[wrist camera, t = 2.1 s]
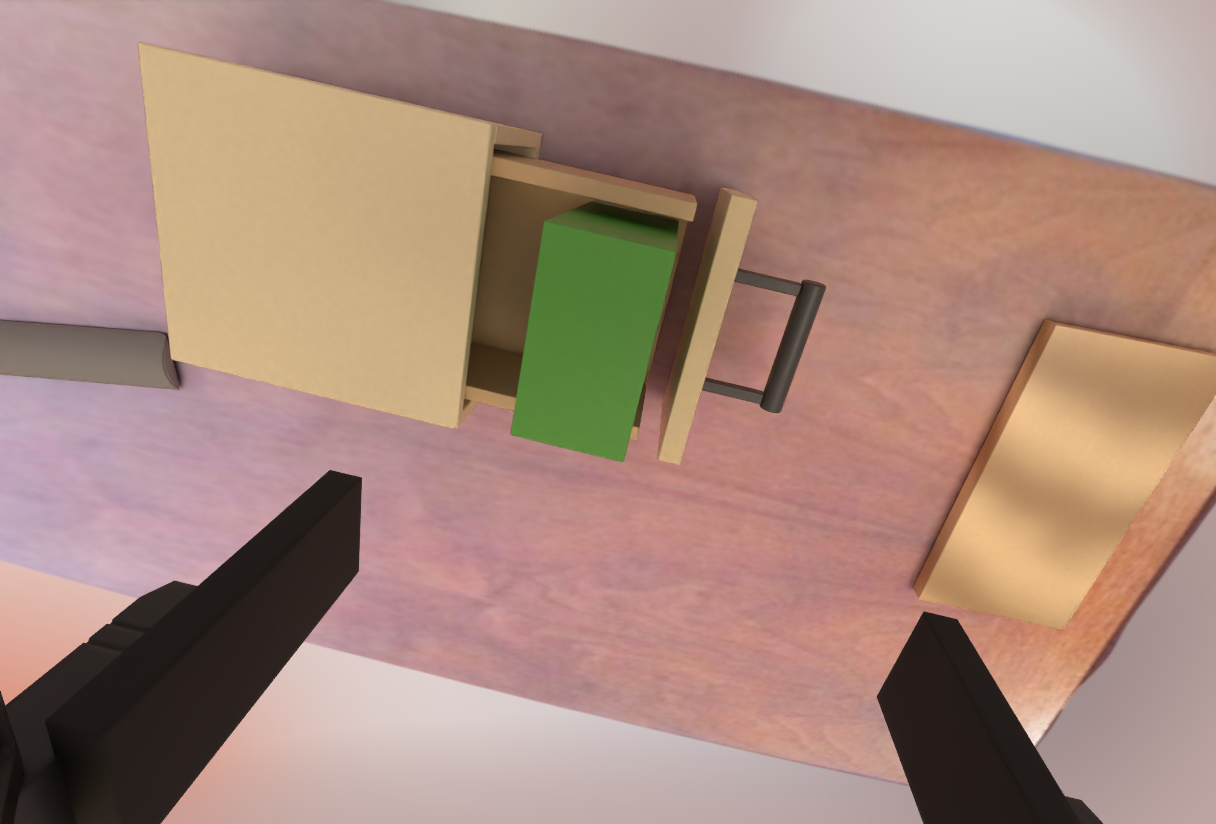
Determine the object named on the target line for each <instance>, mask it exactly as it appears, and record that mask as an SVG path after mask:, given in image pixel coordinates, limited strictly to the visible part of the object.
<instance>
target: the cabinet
mask: <svg viewBox="0 0 1216 824" xmlns="http://www.w3.org/2000/svg"><path fill="white" fill-rule="evenodd" d="M138 50H139V60H140V69H141V79H142V88H143V98H144V107H145V117H146V126H147V136H148V145H149V155H150V164H151V174H152V183H153V193H154V202H155V212H156V221H157V231H158V240H159V250H160V259H161V269H162V278H163V288H164V297H165V307H166V317H167V326H168V336H169V345H170V355H171V359H172V360H176V361H180V362H184V363H188V364H192V365H196V366H200V367H204V368H208V369H212V370H216V371H220V372H224V373H229V374H233V375H237V376H241V377H245V378H249V379H253V380H257V381H261V382H265V383H269V384H273V385H278V386H282V387H286V388H290V389H294V390H298V391H302V392H306V393H310V394H314V395H318V396H322V397H326V398H331V399H335V400H339V401H343V402H347V403H351V404H355V405H359V406H363V407H367V408H371V409H375V410H379V411H384V412H388V413H392V414H396V415H400V416H404V417H408V418H412V419H416V420H420V421H424V422H428V423H433V424H437V425H441V426H445V427H449V428H453V429H457V428H458V427H459V425H460V424H461V423H462V422H463V421H464V420H465V419H466V417H467V416H468V415H469V414H470V413H471V411H472V410H473V409H474V408H475V407H476V406H477V404H478V403H479V402H476V401H471V400H467V399H464V396H465V388H466V379H467V371H468V362H469V354H470V345H471V337H472V328H473V320H474V311H475V303H476V294H477V286H478V277H479V269H480V260H481V252H482V243H483V235H484V226H485V218H486V209H487V201H488V192H489V184H490V175H491V167H492V158H493V150H494V149H498V150H502V151H506V152H511V153H515V154H519V155H524V156H528V157H532V158H537V159H538V158H539V151H540V144H541V137H542V134H541V133H538V132H534V131H529V130H525V129H521V128H516V127H512V126H508V125H503V124H499V123H495V122H490V121H486V120H482V119H477V118H473V117H469V116H464V115H460V114H456V113H451V112H447V111H443V110H438V109H434V108H430V107H425V106H421V105H417V104H412V103H408V102H404V101H399V100H395V99H391V98H386V97H382V96H378V95H373V94H369V93H365V92H360V91H356V90H352V89H347V88H343V87H339V86H334V85H330V84H326V83H321V82H317V81H313V80H308V79H304V78H300V77H295V76H291V75H287V74H282V73H278V72H273V71H269V70H264V69H260V68H255V67H251V66H246V65H242V64H237V63H233V62H228V61H224V60H219V59H215V58H210V57H205V56H201V55H196V54H192V53H187V52H183V51H178V50H174V49H169V48H165V47H160V46H156V45H151V44H147V43H142V42H139V43H138Z"/></svg>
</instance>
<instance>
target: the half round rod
mask: <svg viewBox="0 0 1216 824" xmlns="http://www.w3.org/2000/svg"><path fill="white" fill-rule="evenodd" d="M0 374H2V375H13V376H25V377H36V378H48V379H60V380H71V381H83V382H95V383H106V384H118V385H130V386H141V387H153V388H164V389H176V390H180V389H179V387H180V385H179V382H178V378H177V374H176V370H175V367H174V363H173V360H172V359H171V355H170V348H169V344H168V340H167V338H166V337H165V335H164V334H162V333H159V332H147V331H134V330H121V329H108V328H95V327H82V326H69V325H56V324H43V323H29V322H16V321H3V320H0Z"/></svg>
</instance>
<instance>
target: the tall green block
mask: <svg viewBox="0 0 1216 824" xmlns="http://www.w3.org/2000/svg"><path fill="white" fill-rule="evenodd" d="M678 228H679V221H675V220H671V219H666V218H662V217H658V216H653V215H649V214H645V213H641V212H636V211H632V210H628V209H623V208H619V207H615V206H611V205H606V204H602V203H598V202H593V201H591V202H588V203H586V204H584V205H581V206H579V207H577V208H574V209H572V210H569V211H567V212H565V213H562V214H560V215H557V216H555V217H553V218H550V219H548V220H546V221H544V224H543V231H542V237H541V243H540V250H539V256H538V262H537V269H536V275H535V281H534V288H533V294H532V301H531V307H530V313H529V320H528V326H527V332H526V339H525V345H524V351H523V358H522V364H521V370H520V377H519V383H518V389H517V396H516V402H515V409H514V415H513V421H512V428H511V435H513V436H517V437H521V438H525V439H529V440H533V441H537V442H542V443H546V444H550V445H554V446H558V447H562V448H566V449H570V450H574V451H578V452H582V453H586V454H591V455H595V456H599V457H603V458H607V459H611V460H615V461H619V462H624V459H625V455H626V451H627V447H628V443H629V439H630V435H631V431H632V427H633V423H634V419H635V415H636V411H637V407H638V403H639V399H640V395H641V391H642V387H643V383H644V379H645V375H646V371H647V367H648V364H649V360H650V356H651V352H652V348H653V344H654V340H655V336H656V332H657V328H658V324H659V320H660V316H661V312H662V308H663V304H664V300H665V296H666V292H667V288H668V284H669V280H670V276H671V272H672V268H673V265H674V261H675V257H676V252H677V240H678Z"/></svg>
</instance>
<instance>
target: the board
mask: <svg viewBox="0 0 1216 824" xmlns="http://www.w3.org/2000/svg"><path fill="white" fill-rule="evenodd" d="M1215 395H1216V353H1212V352H1207V351H1202V350H1197V349H1192V348H1187V347H1182V346H1176V345H1171V344H1166V343H1161V342H1156V341H1151V340H1146V339H1141V338H1136V337H1131V336H1126V335H1121V334H1115V333H1110V332H1105V331H1100V330H1095V329H1090V328H1085V327H1080V326H1075V325H1070V324H1065V323H1059V322H1054V321H1049V320H1044V322H1043V324H1042V326H1041V328H1040V330H1039V332H1038V334H1037V336H1036V339H1035V341H1034V343H1033V345H1032V347H1031V349H1030V351H1029V353H1028V355H1027V357H1026V359H1025V361H1024V363H1023V365H1022V367H1021V369H1020V371H1019V373H1018V375H1017V377H1016V379H1015V381H1014V383H1013V385H1012V387H1011V389H1010V391H1009V393H1008V395H1007V397H1006V400H1005V402H1004V404H1003V406H1002V408H1001V410H1000V412H999V414H998V416H997V418H996V420H995V422H994V424H993V426H992V428H991V430H990V432H989V434H988V436H987V438H986V440H985V442H984V444H983V446H982V448H981V450H980V452H979V454H978V456H977V459H976V461H975V463H974V465H973V467H972V469H971V471H970V473H969V475H968V477H967V479H966V481H965V483H964V485H963V487H962V489H961V491H960V493H959V495H958V497H957V499H956V501H955V503H954V505H953V507H952V509H951V511H950V513H949V515H948V517H947V520H946V522H945V524H944V526H943V528H942V530H941V532H940V534H939V536H938V538H937V540H936V542H935V544H934V546H933V548H932V550H931V552H930V554H929V556H928V558H927V560H926V562H925V564H924V566H923V568H922V570H921V572H920V574H919V576H918V579H917V581H916V583H915V585H914V587H913V589H914V591H915V593H916V594H917V596H918V598H919V599H922V600H926V601H931V602H936V603H940V604H945V605H949V606H954V607H959V608H963V609H968V610H972V611H977V612H982V613H986V614H991V615H995V616H1000V617H1005V618H1009V619H1014V620H1018V621H1023V622H1028V623H1032V624H1037V625H1041V626H1046V627H1051V628H1055V629H1060V630H1063V629H1064V628H1065V626H1066V625H1067V623H1068V621H1069V620H1070V618H1071V617H1072V615H1073V614H1074V612H1075V611H1076V609H1077V608H1078V606H1079V605H1080V603H1081V601H1082V600H1083V598H1084V597H1085V595H1086V594H1087V592H1088V591H1089V589H1090V588H1091V586H1092V584H1093V583H1094V581H1095V580H1096V578H1097V577H1098V575H1099V574H1100V572H1101V571H1102V569H1103V568H1104V566H1105V564H1106V563H1107V561H1108V560H1109V558H1110V557H1111V555H1112V554H1113V552H1114V551H1115V549H1116V548H1117V546H1118V544H1119V543H1120V541H1121V540H1122V538H1123V537H1124V535H1125V534H1126V532H1127V531H1128V529H1129V528H1130V526H1131V524H1132V523H1133V521H1134V520H1135V518H1136V517H1137V515H1138V514H1139V512H1140V511H1141V509H1142V508H1143V506H1144V504H1145V503H1146V501H1147V500H1148V498H1149V497H1150V495H1151V494H1152V492H1153V491H1154V489H1155V487H1156V486H1157V484H1158V483H1159V481H1160V480H1161V478H1162V477H1163V475H1164V474H1165V472H1166V471H1167V469H1168V467H1169V466H1170V464H1171V463H1172V461H1173V460H1174V458H1175V457H1176V455H1177V454H1178V452H1179V451H1180V449H1181V447H1182V446H1183V444H1184V443H1185V441H1186V440H1187V438H1188V437H1189V435H1190V434H1191V432H1192V431H1193V429H1194V427H1195V426H1196V424H1197V423H1198V421H1199V420H1200V418H1201V417H1202V415H1203V414H1204V412H1205V410H1206V409H1207V407H1208V406H1209V404H1210V403H1211V401H1212V400H1213V398H1214V397H1215Z"/></svg>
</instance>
